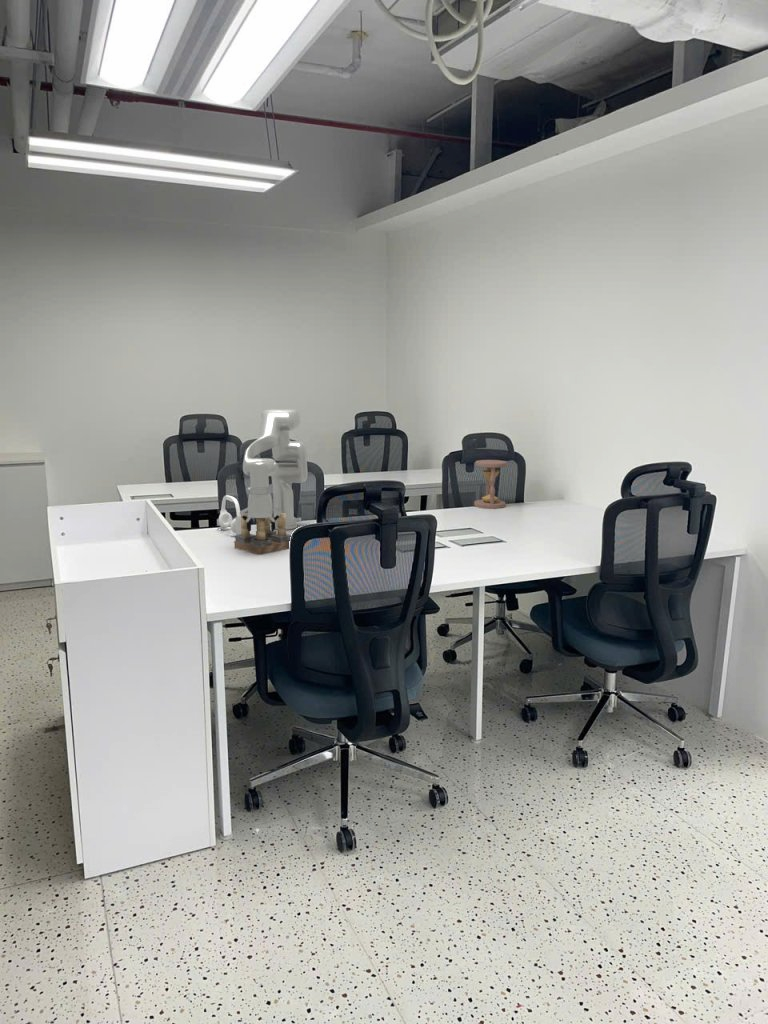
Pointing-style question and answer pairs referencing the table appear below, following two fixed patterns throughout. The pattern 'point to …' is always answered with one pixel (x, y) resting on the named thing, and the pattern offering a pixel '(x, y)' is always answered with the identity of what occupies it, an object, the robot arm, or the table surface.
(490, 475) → the hourglass
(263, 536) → the oak leg
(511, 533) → the table surface
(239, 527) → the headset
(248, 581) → the table surface
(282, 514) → the stool
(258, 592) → the table surface
